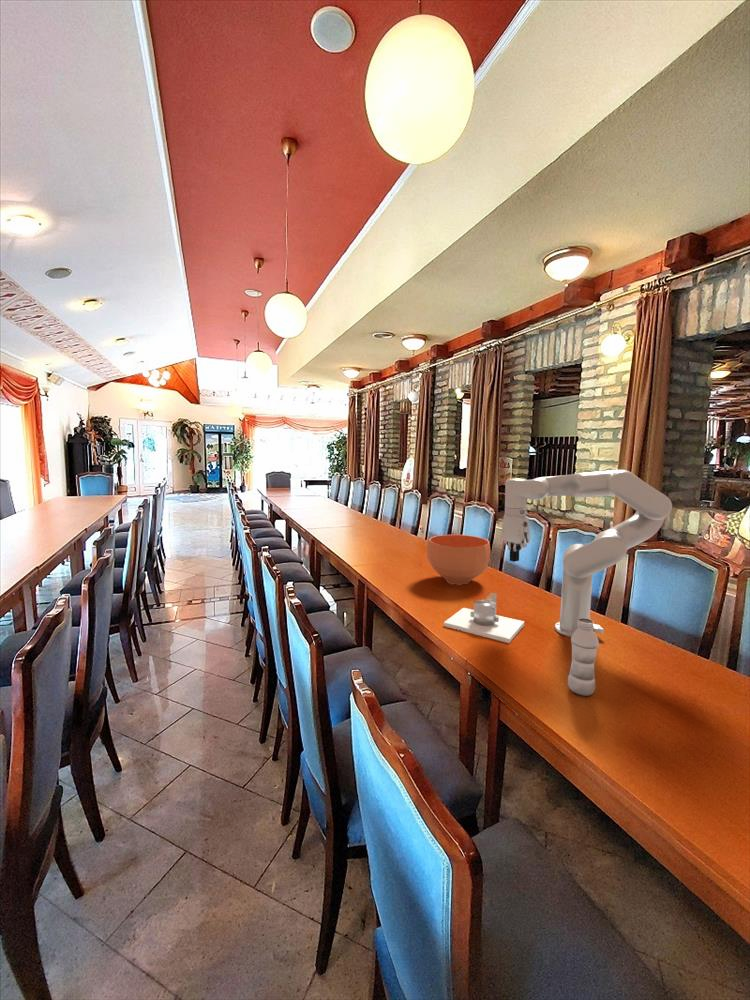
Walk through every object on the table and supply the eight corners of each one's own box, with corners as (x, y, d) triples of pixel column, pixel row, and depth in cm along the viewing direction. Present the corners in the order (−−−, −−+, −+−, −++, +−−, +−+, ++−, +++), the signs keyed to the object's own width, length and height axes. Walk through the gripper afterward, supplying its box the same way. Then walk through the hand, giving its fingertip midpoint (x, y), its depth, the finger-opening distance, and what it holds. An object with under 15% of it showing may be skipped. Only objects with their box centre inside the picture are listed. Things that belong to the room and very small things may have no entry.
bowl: (423, 588, 200) (424, 545, 198) (430, 570, 229) (431, 533, 227) (489, 593, 193) (491, 549, 191) (488, 575, 222) (490, 536, 220)
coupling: (495, 627, 152) (496, 609, 152) (467, 622, 157) (468, 604, 156) (506, 612, 167) (507, 595, 166) (480, 607, 172) (480, 591, 171)
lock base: (524, 625, 159) (524, 621, 159) (509, 643, 144) (509, 638, 144) (463, 611, 173) (463, 607, 172) (443, 626, 158) (443, 621, 158)
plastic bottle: (570, 682, 120) (575, 613, 118) (597, 691, 116) (602, 620, 114) (564, 692, 115) (568, 621, 113) (591, 702, 111) (596, 628, 109)
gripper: (538, 513, 154) (537, 564, 156) (508, 509, 167) (507, 555, 169) (523, 515, 150) (522, 566, 152) (493, 510, 164) (492, 557, 166)
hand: (514, 560), depth 161 cm, fingers closed
